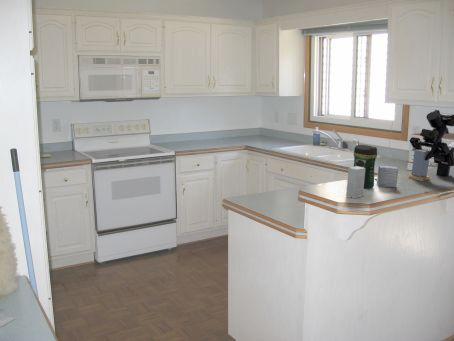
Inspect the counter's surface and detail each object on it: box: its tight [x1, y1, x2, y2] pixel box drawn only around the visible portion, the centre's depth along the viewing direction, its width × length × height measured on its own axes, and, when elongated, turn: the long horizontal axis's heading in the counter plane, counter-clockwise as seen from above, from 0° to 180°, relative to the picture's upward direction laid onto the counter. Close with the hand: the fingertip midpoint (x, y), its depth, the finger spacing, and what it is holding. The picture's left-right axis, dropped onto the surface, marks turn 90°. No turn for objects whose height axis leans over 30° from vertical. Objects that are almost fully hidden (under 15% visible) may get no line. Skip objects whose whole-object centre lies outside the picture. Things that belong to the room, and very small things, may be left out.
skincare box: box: [345, 166, 365, 199], centre depth 199 cm, size 6×4×12 cm
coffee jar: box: [353, 144, 378, 190], centre depth 215 cm, size 10×8×19 cm
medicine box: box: [376, 165, 399, 188], centre depth 220 cm, size 8×4×9 cm, turn 84°
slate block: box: [411, 148, 430, 177], centre depth 233 cm, size 5×5×12 cm
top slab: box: [407, 174, 431, 182], centre depth 235 cm, size 7×7×2 cm
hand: (419, 158), depth 232 cm, fingers open, 6 cm apart
